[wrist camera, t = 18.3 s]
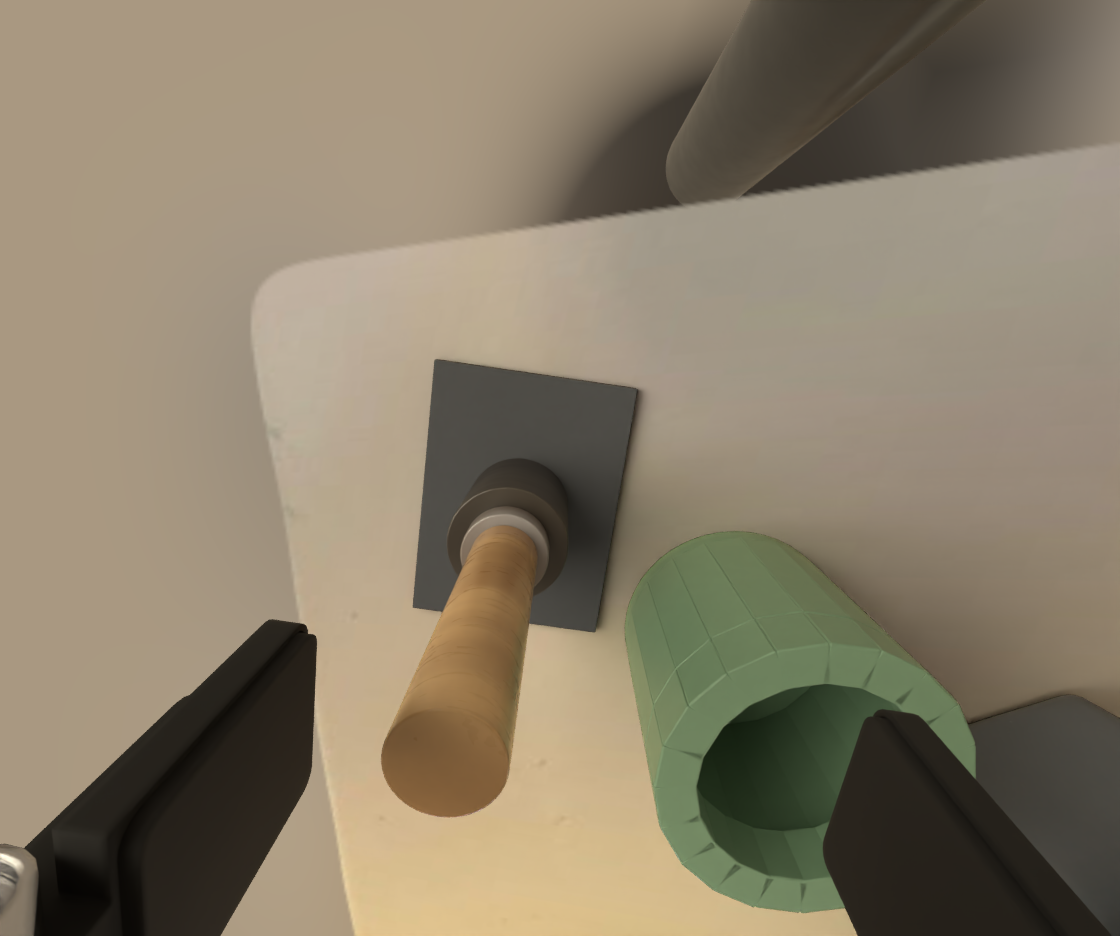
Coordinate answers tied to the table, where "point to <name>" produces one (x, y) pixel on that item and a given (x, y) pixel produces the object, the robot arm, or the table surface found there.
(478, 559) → the brush
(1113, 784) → the storage bin
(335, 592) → the table surface
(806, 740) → the jar
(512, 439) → the mat
